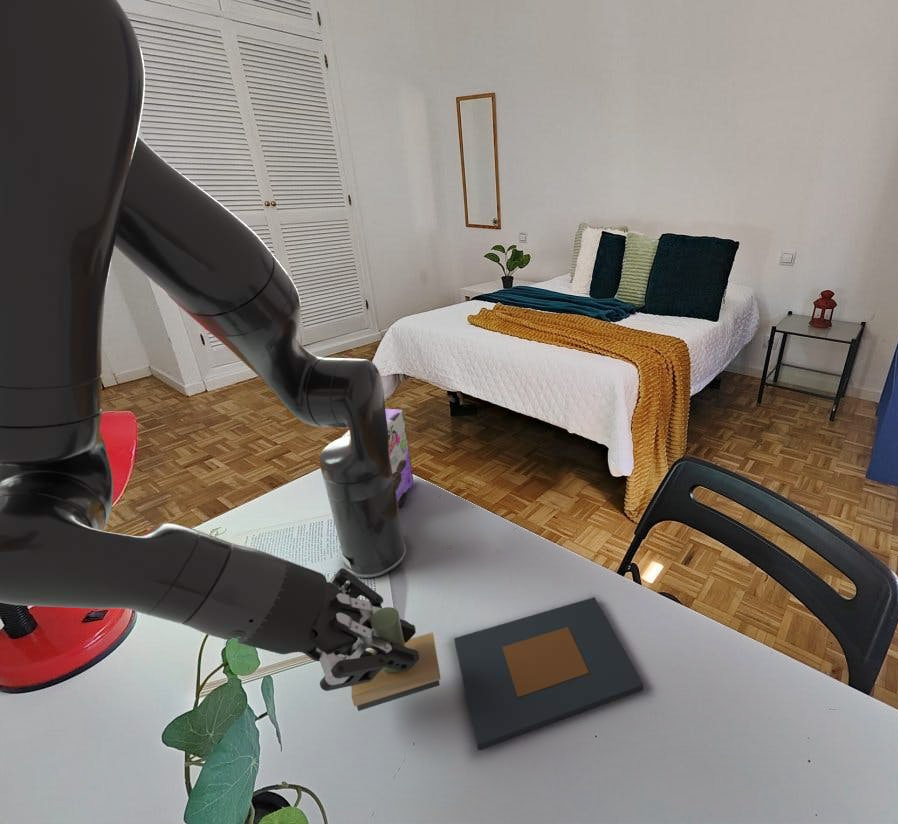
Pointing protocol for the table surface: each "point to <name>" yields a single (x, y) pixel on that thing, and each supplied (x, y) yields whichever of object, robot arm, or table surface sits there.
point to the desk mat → (542, 670)
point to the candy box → (398, 451)
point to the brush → (392, 681)
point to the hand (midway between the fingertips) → (411, 647)
